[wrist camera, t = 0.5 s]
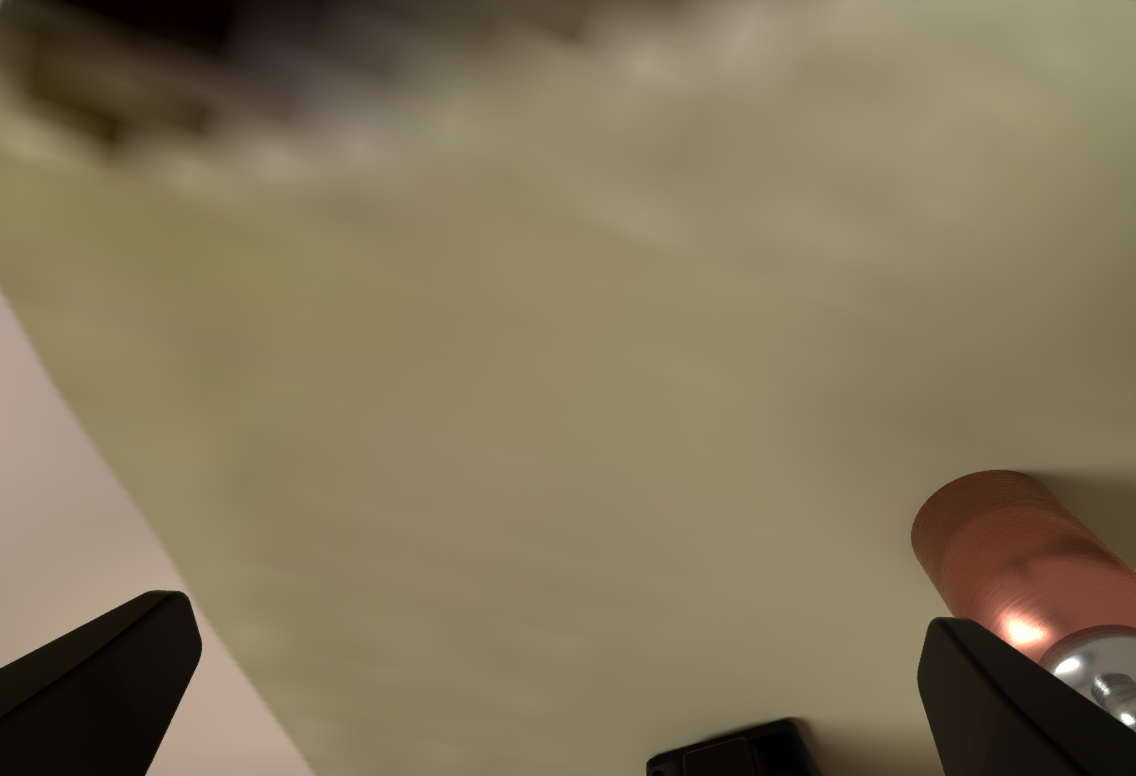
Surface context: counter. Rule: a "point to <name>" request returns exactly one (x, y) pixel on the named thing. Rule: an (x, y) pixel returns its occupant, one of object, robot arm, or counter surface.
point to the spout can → (1034, 581)
